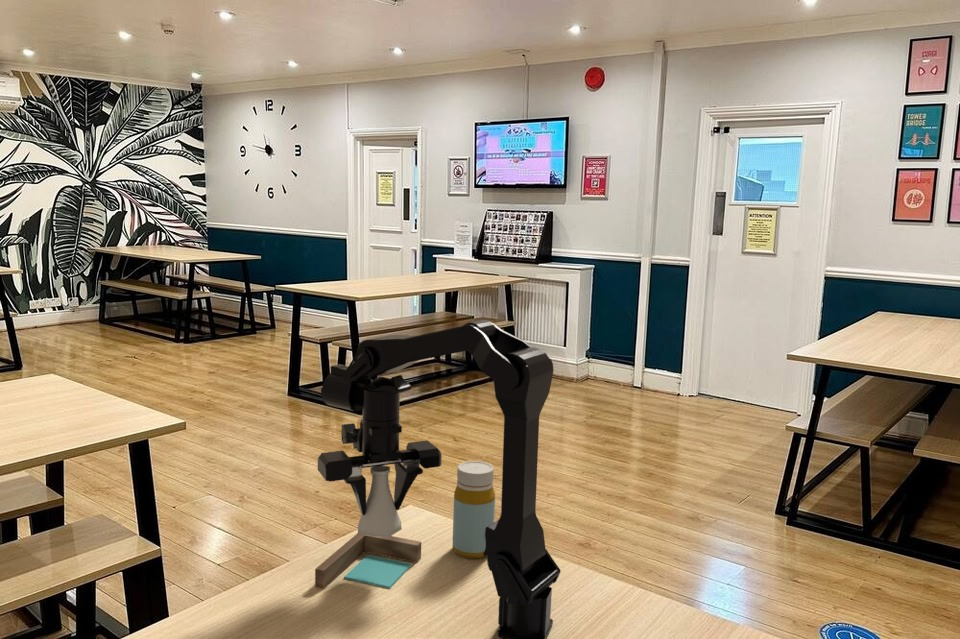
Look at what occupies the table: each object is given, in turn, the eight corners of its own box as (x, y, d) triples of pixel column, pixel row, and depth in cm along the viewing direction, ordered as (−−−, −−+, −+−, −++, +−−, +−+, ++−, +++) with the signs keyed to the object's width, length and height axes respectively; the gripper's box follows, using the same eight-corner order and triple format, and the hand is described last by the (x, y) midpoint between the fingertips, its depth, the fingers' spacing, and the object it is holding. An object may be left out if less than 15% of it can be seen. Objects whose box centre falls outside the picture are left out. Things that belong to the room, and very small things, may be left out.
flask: (350, 535, 114) (350, 474, 113) (365, 517, 121) (366, 458, 120) (395, 540, 113) (395, 478, 112) (407, 521, 120) (408, 462, 119)
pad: (411, 565, 121) (411, 563, 121) (390, 588, 113) (390, 586, 113) (367, 556, 123) (367, 554, 123) (344, 578, 116) (344, 576, 116)
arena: (420, 558, 123) (421, 541, 123) (381, 602, 109) (381, 583, 109) (360, 546, 127) (361, 530, 126) (315, 587, 113) (315, 568, 113)
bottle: (446, 545, 129) (448, 462, 126) (482, 538, 132) (485, 458, 129) (462, 563, 122) (465, 476, 120) (499, 555, 125) (503, 471, 123)
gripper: (418, 398, 126) (416, 486, 128) (308, 408, 118) (309, 501, 120) (443, 415, 116) (441, 510, 118) (326, 428, 108) (326, 529, 110)
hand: (380, 511), depth 117 cm, fingers closed on flask, 5 cm apart
